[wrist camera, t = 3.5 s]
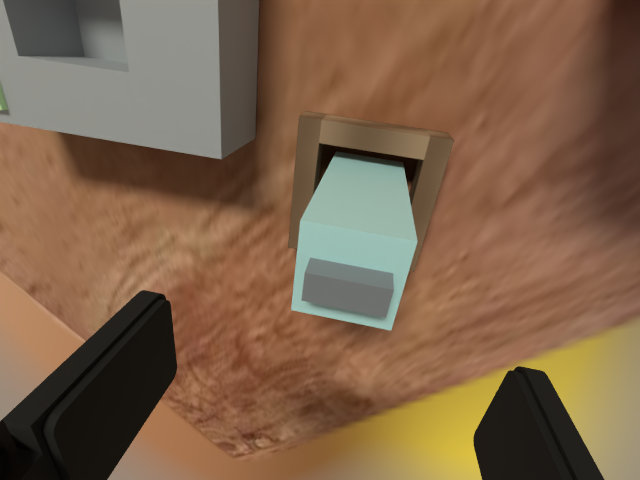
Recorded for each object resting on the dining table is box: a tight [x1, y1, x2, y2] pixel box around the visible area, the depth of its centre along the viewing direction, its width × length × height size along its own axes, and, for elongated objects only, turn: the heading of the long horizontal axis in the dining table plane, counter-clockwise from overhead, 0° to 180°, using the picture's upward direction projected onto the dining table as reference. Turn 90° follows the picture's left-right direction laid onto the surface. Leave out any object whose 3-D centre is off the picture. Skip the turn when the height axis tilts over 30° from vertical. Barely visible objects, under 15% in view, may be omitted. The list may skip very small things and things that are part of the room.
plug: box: [291, 151, 418, 330], centre depth 16 cm, size 4×4×11 cm
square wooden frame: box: [288, 111, 454, 271], centre depth 20 cm, size 8×8×2 cm
